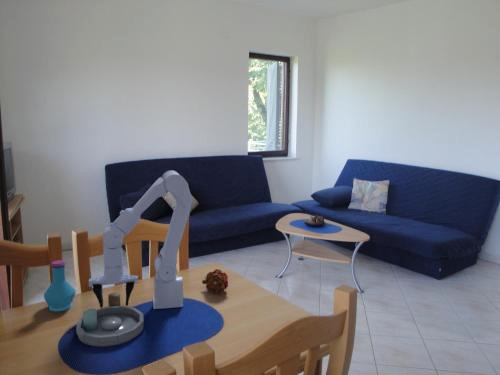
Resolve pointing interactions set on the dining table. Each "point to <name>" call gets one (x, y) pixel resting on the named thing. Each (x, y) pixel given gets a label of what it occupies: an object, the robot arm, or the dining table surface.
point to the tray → (112, 326)
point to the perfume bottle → (59, 289)
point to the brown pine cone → (216, 281)
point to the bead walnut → (114, 299)
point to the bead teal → (90, 319)
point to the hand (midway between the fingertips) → (114, 305)
